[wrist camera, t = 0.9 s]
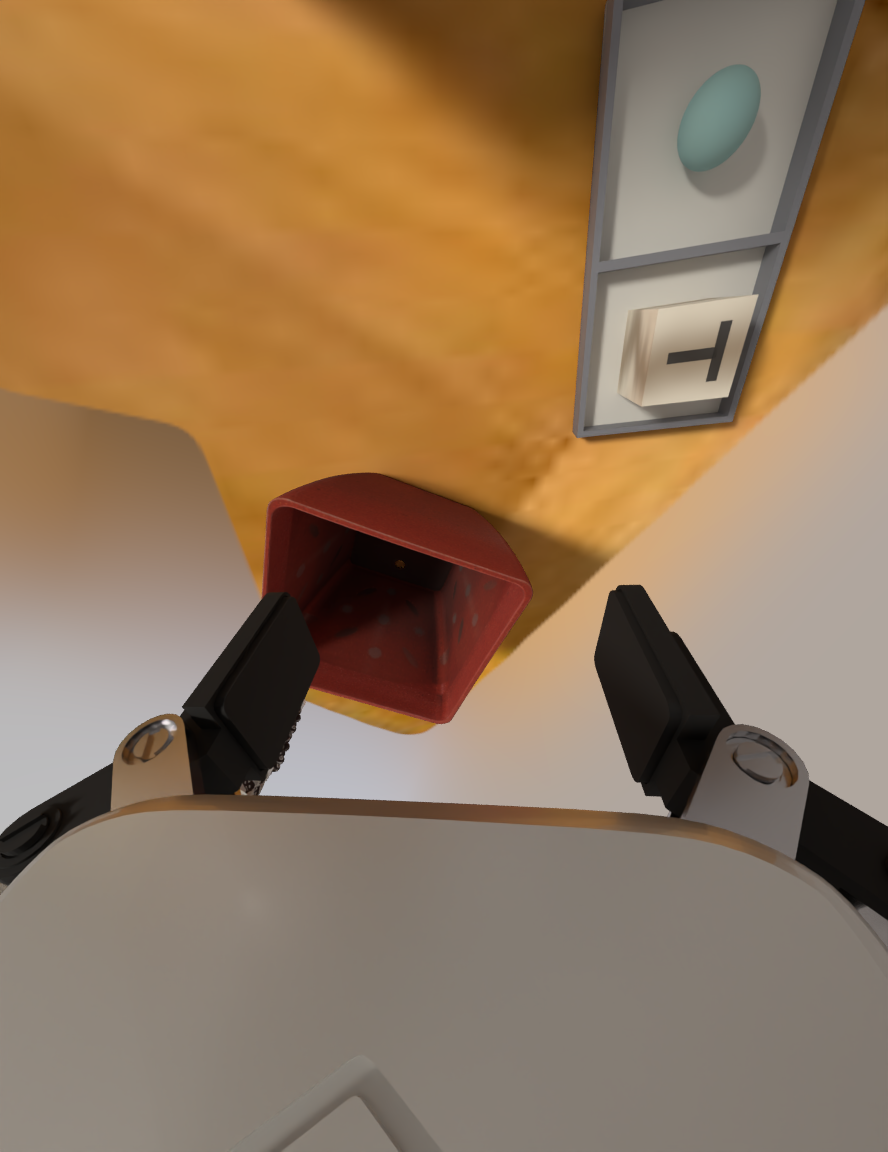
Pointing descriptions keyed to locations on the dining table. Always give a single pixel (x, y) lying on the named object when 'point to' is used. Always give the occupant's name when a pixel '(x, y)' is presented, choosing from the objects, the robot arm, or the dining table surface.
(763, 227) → the compartment box
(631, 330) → the letter cube
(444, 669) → the plant pot
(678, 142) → the teal ball
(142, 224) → the dining table surface
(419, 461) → the dining table surface
